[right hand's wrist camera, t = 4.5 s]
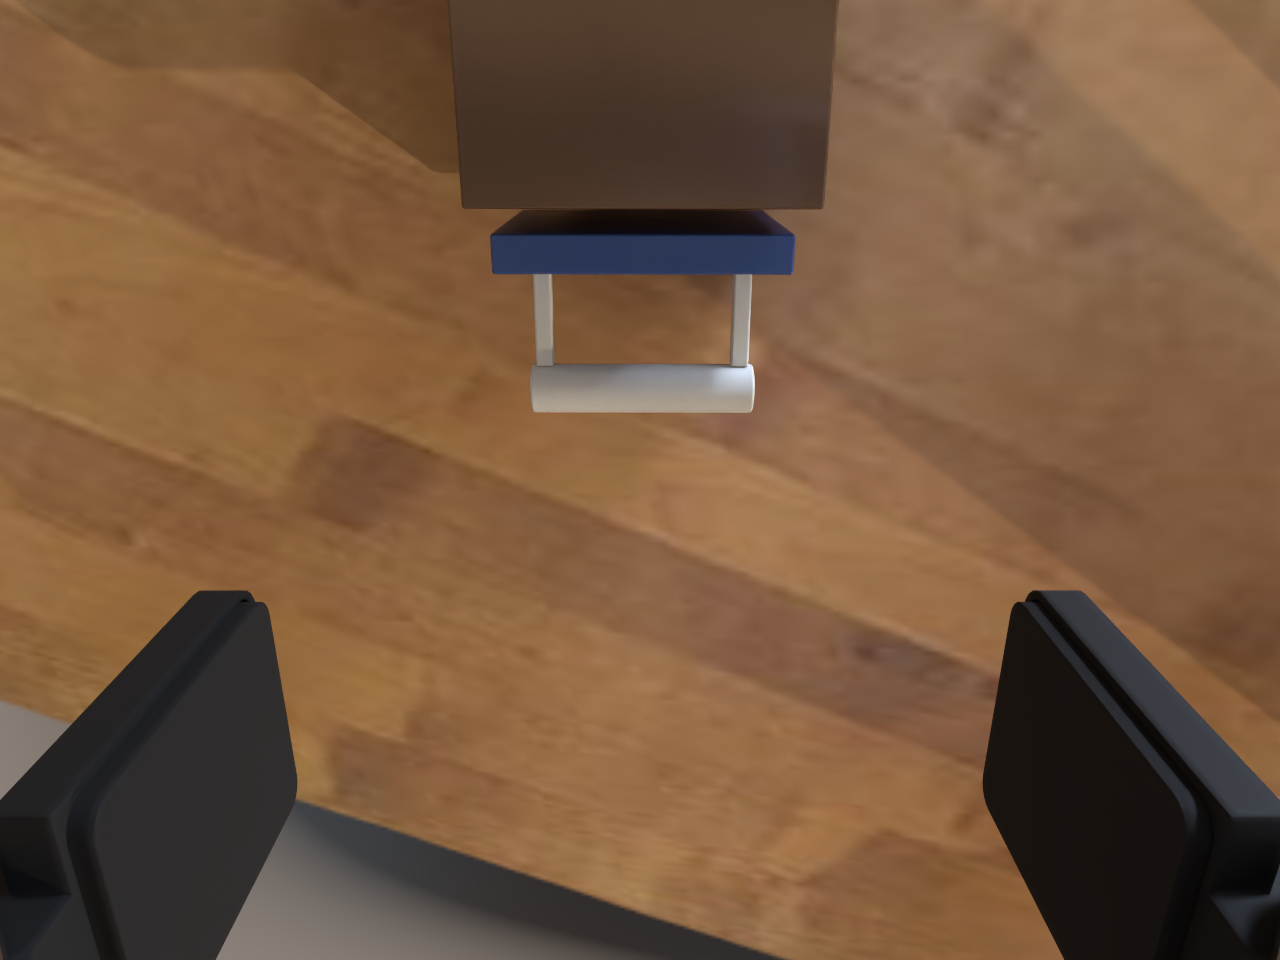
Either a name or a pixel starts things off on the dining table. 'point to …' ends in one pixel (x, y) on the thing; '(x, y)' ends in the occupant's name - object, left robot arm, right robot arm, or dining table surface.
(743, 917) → the dining table surface
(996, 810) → the right robot arm
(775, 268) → the drawer
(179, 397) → the dining table surface
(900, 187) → the dining table surface
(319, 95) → the dining table surface
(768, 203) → the cabinet
